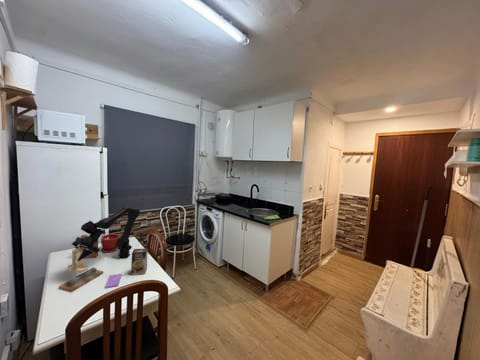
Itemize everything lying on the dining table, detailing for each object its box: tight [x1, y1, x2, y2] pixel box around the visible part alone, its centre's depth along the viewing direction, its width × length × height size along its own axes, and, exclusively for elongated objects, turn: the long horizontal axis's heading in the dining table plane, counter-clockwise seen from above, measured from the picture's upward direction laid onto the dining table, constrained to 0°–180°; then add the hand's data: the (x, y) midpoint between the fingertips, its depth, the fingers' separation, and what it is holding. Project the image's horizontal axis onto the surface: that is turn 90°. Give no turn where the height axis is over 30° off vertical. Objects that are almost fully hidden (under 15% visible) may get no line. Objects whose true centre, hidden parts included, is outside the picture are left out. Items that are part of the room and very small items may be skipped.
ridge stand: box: [58, 267, 104, 293], centre depth 121 cm, size 20×10×4 cm, turn 168°
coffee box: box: [130, 248, 149, 276], centre depth 133 cm, size 9×6×16 cm
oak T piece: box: [67, 248, 89, 274], centre depth 121 cm, size 12×4×13 cm, turn 72°
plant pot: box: [100, 233, 121, 253], centre depth 162 cm, size 13×13×12 cm
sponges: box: [104, 272, 123, 289], centre depth 122 cm, size 7×13×2 cm, turn 23°
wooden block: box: [80, 234, 99, 260], centre depth 148 cm, size 4×11×18 cm, turn 109°
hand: (75, 260), depth 119 cm, fingers closed on oak T piece, 4 cm apart
